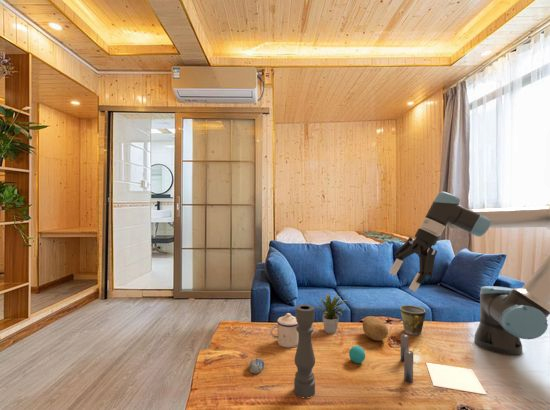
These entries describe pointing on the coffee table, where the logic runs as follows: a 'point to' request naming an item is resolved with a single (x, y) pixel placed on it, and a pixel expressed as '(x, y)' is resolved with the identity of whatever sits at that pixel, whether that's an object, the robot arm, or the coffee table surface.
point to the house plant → (331, 313)
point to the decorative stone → (256, 365)
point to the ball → (357, 354)
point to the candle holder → (304, 352)
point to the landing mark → (454, 378)
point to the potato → (375, 328)
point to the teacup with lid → (286, 331)
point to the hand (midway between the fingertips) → (401, 281)
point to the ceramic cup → (412, 319)
